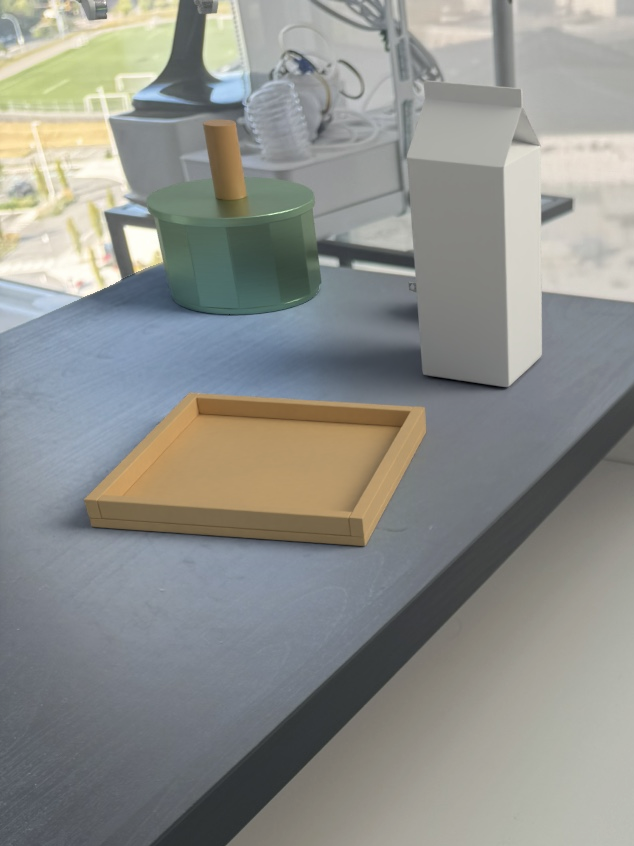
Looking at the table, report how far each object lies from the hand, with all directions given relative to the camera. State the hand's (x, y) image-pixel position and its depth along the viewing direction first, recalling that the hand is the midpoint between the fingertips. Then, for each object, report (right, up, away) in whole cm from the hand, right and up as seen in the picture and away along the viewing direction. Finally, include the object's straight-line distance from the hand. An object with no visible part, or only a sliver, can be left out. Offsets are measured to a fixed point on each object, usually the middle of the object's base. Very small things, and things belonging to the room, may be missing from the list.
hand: (155, 11), depth 98 cm
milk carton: (+28, -33, -8) cm, 44 cm away
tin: (+6, -21, +5) cm, 23 cm away
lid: (+6, -16, +1) cm, 17 cm away
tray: (+16, -45, -23) cm, 53 cm away
